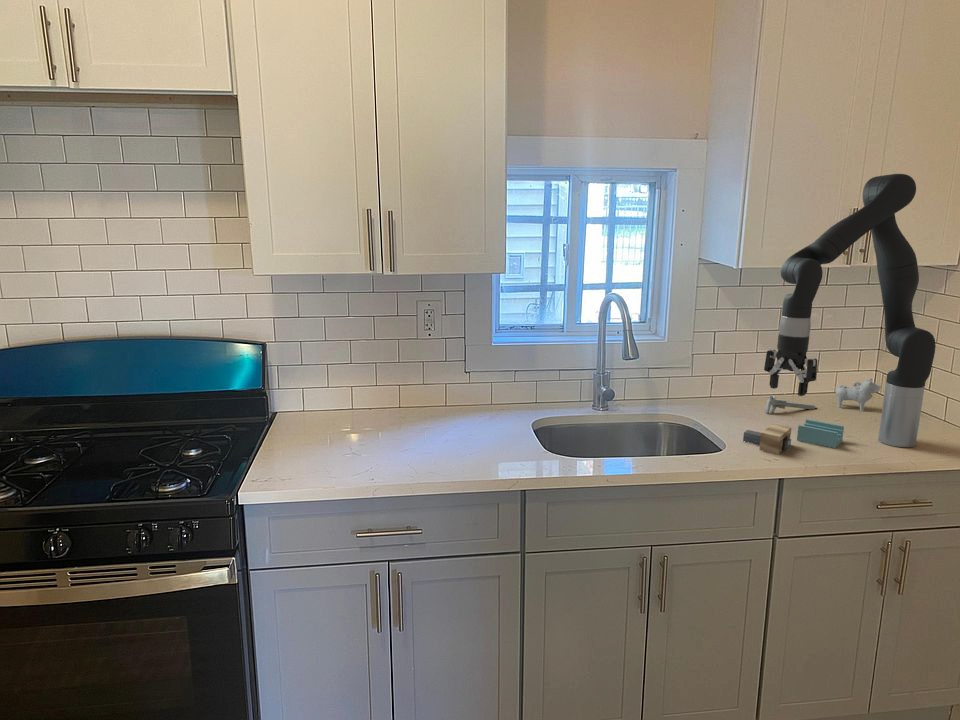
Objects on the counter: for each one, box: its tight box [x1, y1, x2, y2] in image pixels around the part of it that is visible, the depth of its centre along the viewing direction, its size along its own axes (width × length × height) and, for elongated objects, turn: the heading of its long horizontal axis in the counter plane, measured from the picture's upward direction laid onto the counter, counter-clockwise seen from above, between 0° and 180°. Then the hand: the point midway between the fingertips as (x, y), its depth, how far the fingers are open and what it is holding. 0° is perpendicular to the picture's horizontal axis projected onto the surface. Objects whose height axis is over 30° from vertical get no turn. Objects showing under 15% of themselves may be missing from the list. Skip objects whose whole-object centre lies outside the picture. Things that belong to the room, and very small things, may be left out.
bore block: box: [759, 423, 792, 455], centre depth 185 cm, size 10×5×5 cm, turn 139°
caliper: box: [764, 395, 818, 415], centre depth 219 cm, size 20×1×6 cm, turn 108°
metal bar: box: [742, 429, 792, 452], centre depth 188 cm, size 3×12×3 cm, turn 48°
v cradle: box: [796, 418, 845, 449], centre depth 191 cm, size 8×10×4 cm
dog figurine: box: [835, 378, 882, 413], centre depth 221 cm, size 5×13×11 cm, turn 60°
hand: (787, 391), depth 181 cm, fingers open, 8 cm apart
